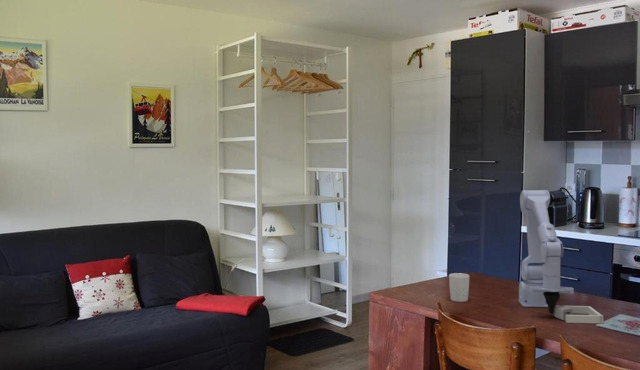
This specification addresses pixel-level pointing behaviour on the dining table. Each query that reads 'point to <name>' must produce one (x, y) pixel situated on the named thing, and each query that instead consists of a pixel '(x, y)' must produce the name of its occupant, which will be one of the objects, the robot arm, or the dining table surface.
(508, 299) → the dining table surface
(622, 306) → the dining table surface
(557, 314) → the usb wall charger
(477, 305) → the dining table surface
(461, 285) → the white cup
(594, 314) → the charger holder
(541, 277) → the robot arm
